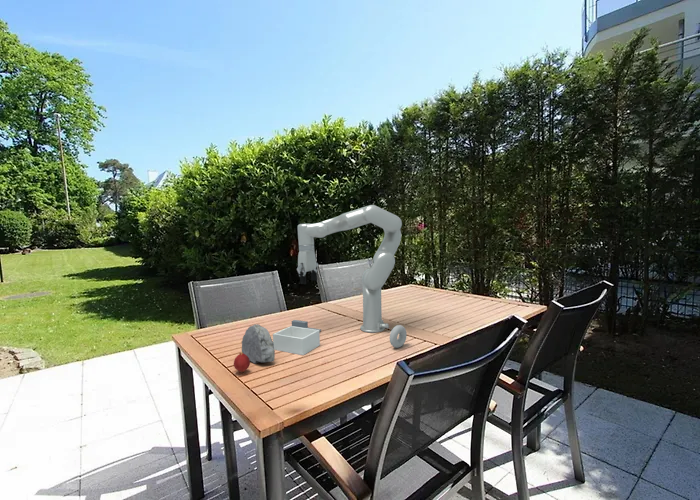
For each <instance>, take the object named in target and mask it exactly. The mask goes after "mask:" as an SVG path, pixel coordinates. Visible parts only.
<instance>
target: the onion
mask: <svg viewBox="0 0 700 500" xmlns="http://www.w3.org/2000/svg"><path fill="white" fill-rule="evenodd" d="M250 365H251V361H250V360H249V358H248V356H247V355H245V354H243V352H242V351H240V352H239V354H238V355H237V356H236V357H235V358H234V360H233V368H234V369H235V370H236V371H237V372H239V373H241V374H242V373H245V372H246V371H247V370H248V369H249V366H250Z"/></svg>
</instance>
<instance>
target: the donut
mask: <svg viewBox="0 0 700 500" xmlns="http://www.w3.org/2000/svg"><path fill="white" fill-rule="evenodd" d="M407 336H408V334H407V329H406V328H405V327H404V325H402V324H397V325H394V327H393V328H392V329H391V331H390V333H389V343H390V345H391V346H392V347H393V348H395V349H398V348H401V347H403V346H404V345H405V343H406V340H407Z"/></svg>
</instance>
